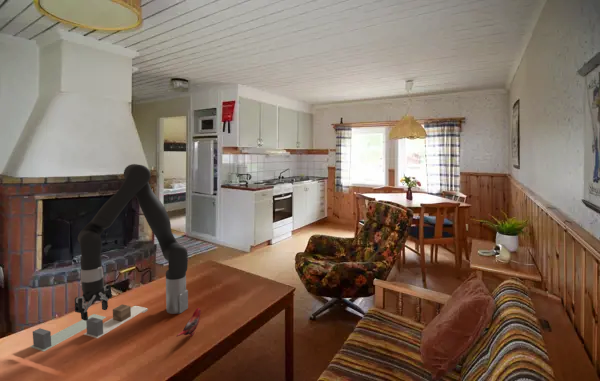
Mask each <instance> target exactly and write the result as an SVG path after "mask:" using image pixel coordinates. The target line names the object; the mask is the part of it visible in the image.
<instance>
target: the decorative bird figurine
mask: <svg viewBox="0 0 600 381" xmlns="http://www.w3.org/2000/svg"><path fill="white" fill-rule="evenodd" d="M201 311H202V310H201V308H199V307H197V308H196V309H195V310H194V312H193V314H192V316H191V317H190V319H189V320H188V321H187V323H186V325H185V326H184V328H183V330H182V331H181V332H179V333H178V334H177V335H176V337H180V336H189V337H188V338H191V337H193V336H194V334H195V332H196V329H197V328H198V326H199V322H200V319H201V314H202V313H201Z"/></svg>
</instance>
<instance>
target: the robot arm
mask: <svg viewBox="0 0 600 381" xmlns="http://www.w3.org/2000/svg"><path fill="white" fill-rule="evenodd" d="M151 177H152V174H151V171H150V169H149V168H148V167H147V166H145V165H142V164H137V163H133V164H129V165H127V166H126V167H125V168H124V170H123V178H124V182H123V183H122V185H121V186H120V188H118V190H117V191H116V192H115V193H114V194H113V195H112V196H111V197H109V199H108V200H107V201H106V202H105V203H104V204H103V205H102V206H101V208H100V209H98V211H97V213H95V215H94V216H93V218H92V219H91V220H90V221H89V222H88V223H87V224H86V225H85V226H84V227H83V228H82V230H80V232H79V233H78V236H77V242H78V243H79V247H80V254H81V255H80V259H79V260H80V282H81V284H80V285H81V291H82V296H79V297H78V296H76V297H75V298H74V312H75V313H78V314H80V319H81V320H85V321H86V320H88V317H89V314H88V309H89V308H90V307H91V306H92V304H93V303H95V302H96V301H100V300H101V301H100V302H101V309H102V310H103V311H106V310H108V308H109V302H108V301H109V299H111V298H113V293H112V286H111V284H105V281H104V270H103V263H102V255H101V254H102V237H101V236H102V234H103V233H104V231H105V230H106V229H108V228H110V227H111V226H112V225H113V224H114V222H115V221H116V220H117V218H118V217H119V215H120V214H121V213H122V211H124V209H125V207H126V206H127V205H128V203H129V202H130V201H131V200H132V199H133V198H134V197H135V198H136V199H137V202H138V205H139V207H140V209H141V212H142V214H143V216H144V218H145V220H146V223H147V224H148V226H149V228H150V230H151V231H152V233H153V235H154V236H155V238H156V240H157V242H158V245H159V246H160V249H161V252H162V256H163V258H164V259H165V260H166V261H167V262H168V267H167V268H168V269H167V270H166V272H165V304H166V306H165V307H166V312H167V313H168V314H171V315H173V314H174V315H175V314H182V313H183V312H185V311H186V310H188V308H189V290H188V289H187V271H188V266H189V264H188V261H189V260H188V258H189V254H188V250H187V248H186V247H185V246H183V245H181V244H179V243H178V241H177V239H176V238H175V236H174V234H173V232H172V228H171V226H172V225H171V219H170V217H169V214H168V212H167V210H166V208H165V206H164V204H163V203H162V202H161V200H160V198H158V196H157V195H156V194H155V192H154V190H153V189H152V187H151V185H150V182H149V181H150V180H151Z"/></svg>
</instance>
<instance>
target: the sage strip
mask: <svg viewBox="0 0 600 381" xmlns="http://www.w3.org/2000/svg"><path fill="white" fill-rule="evenodd" d="M92 317H93V318H97V319H101V320H103V321H104V319H106V318H107V316H104V315H99V314H96V313H92V314H91V315H88V319H90V318H92ZM85 330H87V324H86V321H85V320H82V319H81V320H79V321H77V322H75V323H73V324H71V325H69V326H67V327H66V328H64V329H62V330H59V331H58V332H56V333H53V334H52V333H51V331H50V330H47V329H44V328H41V327H40V328H38V329H35V330H33V331H32V342H33V343H32V344H33V345H30V346H29V347H30V348H31V349H35V350H38V351H41V352H46V351H48V350H49V349H51V348H54V347H55V346H56V345H58V344H60V343H62V342H64V341H66V340H68V339H69V338H71V337H73V336H75V335H77V334H79V333H81V332H83V331H85Z"/></svg>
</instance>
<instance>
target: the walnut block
mask: <svg viewBox="0 0 600 381" xmlns="http://www.w3.org/2000/svg"><path fill="white" fill-rule="evenodd" d="M129 317H131V305H127V304H120V305H118V306H117V307H114V308H112V318H113V320H116V321H120V322H122V321H124V320H126V319H127V318H129Z"/></svg>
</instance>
